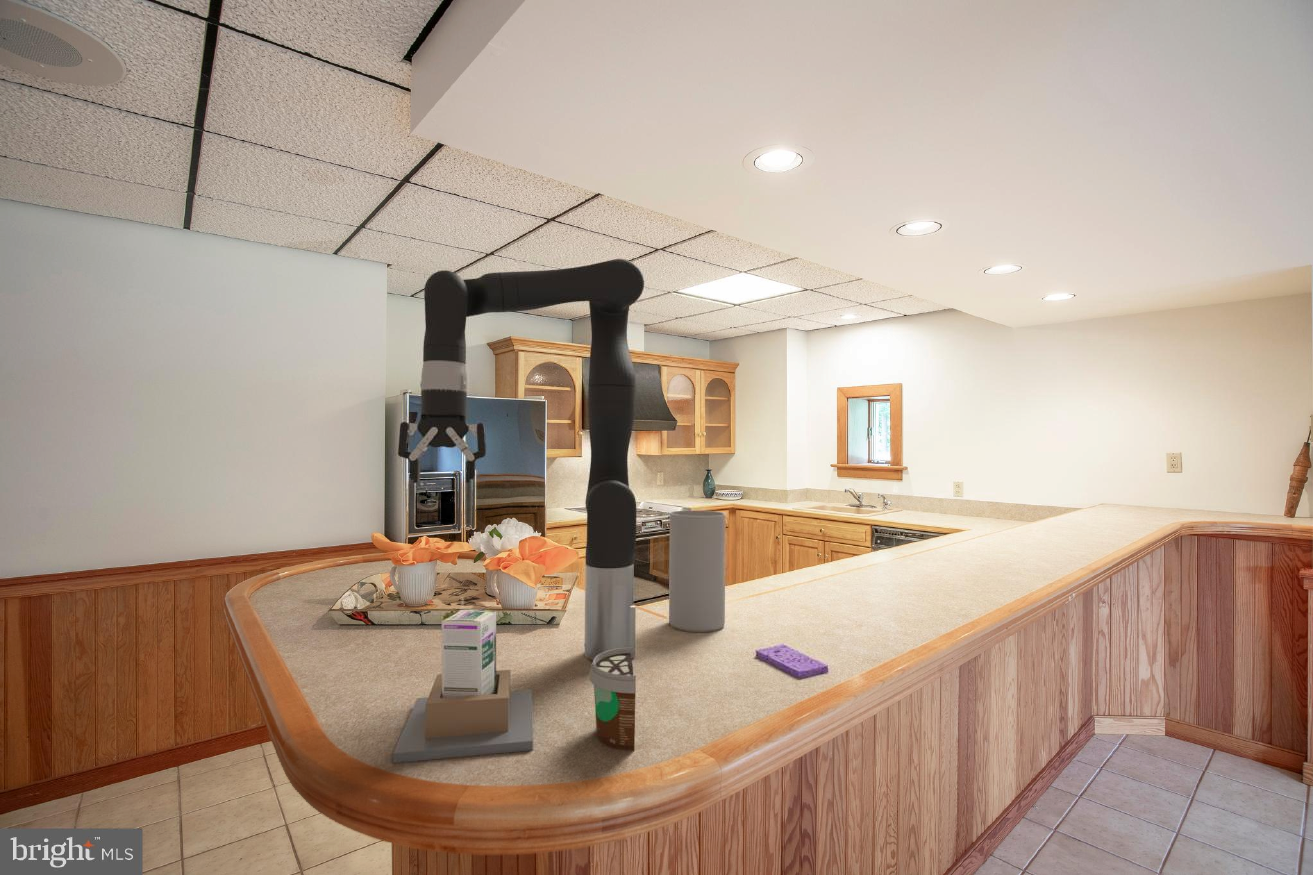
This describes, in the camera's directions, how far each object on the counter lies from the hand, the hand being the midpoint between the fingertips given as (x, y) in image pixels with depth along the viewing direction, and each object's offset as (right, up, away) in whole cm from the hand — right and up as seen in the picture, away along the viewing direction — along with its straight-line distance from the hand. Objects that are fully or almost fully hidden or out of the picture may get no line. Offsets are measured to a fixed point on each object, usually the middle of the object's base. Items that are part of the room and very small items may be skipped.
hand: (442, 482), depth 105 cm
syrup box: (+11, -32, -20) cm, 39 cm away
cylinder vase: (+46, -34, +31) cm, 65 cm away
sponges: (+62, -35, +7) cm, 71 cm away
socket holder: (+11, -33, -20) cm, 40 cm away
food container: (+31, -33, -22) cm, 50 cm away
